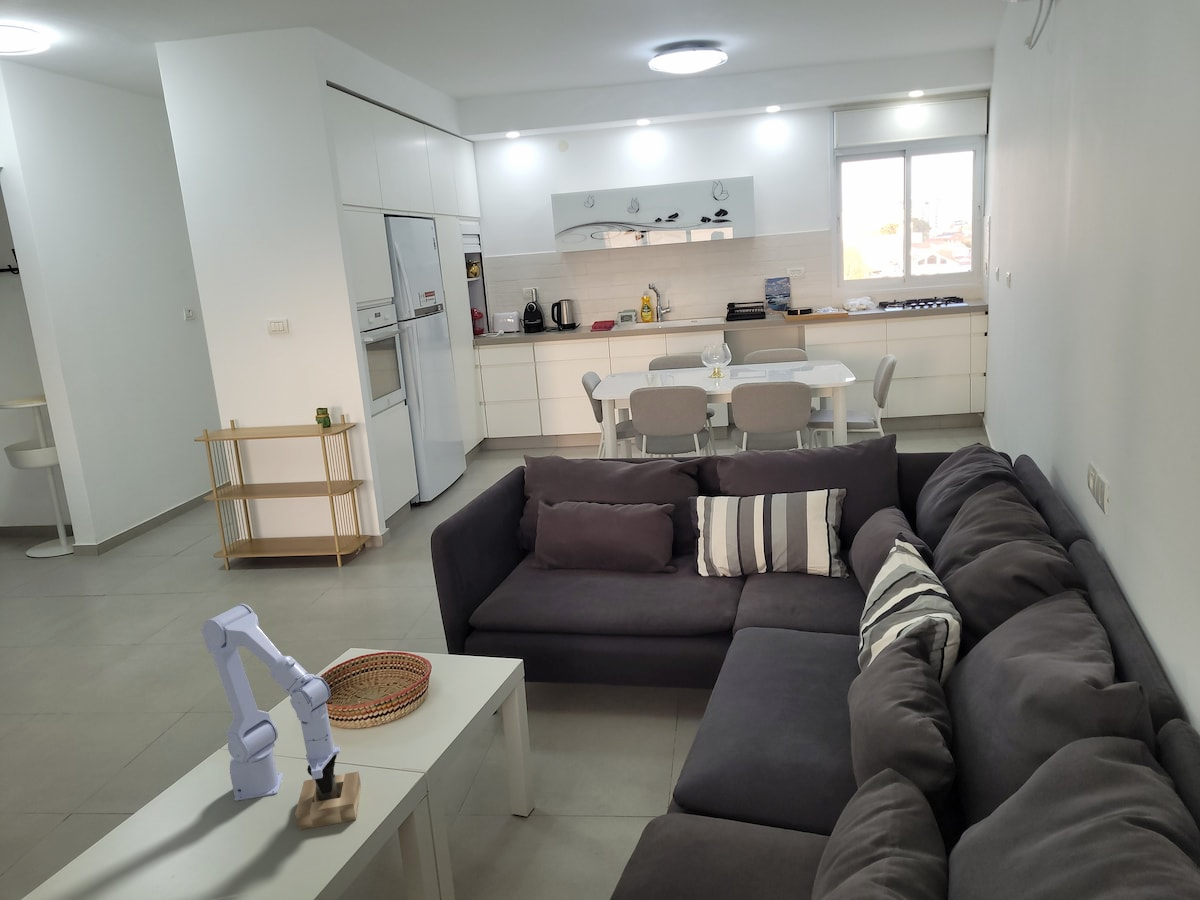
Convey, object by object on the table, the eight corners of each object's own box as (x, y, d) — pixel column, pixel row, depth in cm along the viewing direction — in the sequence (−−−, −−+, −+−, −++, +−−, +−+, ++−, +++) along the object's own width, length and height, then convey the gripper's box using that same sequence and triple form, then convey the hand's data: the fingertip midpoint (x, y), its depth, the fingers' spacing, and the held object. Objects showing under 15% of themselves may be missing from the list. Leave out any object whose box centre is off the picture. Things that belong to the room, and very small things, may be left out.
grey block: (319, 813, 194) (314, 784, 192) (322, 802, 197) (317, 774, 196) (338, 809, 194) (333, 781, 192) (340, 798, 198) (335, 771, 196)
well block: (298, 830, 189) (295, 813, 188) (307, 796, 201) (304, 780, 200) (356, 819, 191) (353, 803, 190) (361, 786, 203) (358, 771, 202)
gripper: (332, 748, 185) (342, 805, 188) (340, 713, 199) (349, 767, 202) (297, 754, 184) (308, 811, 187) (307, 718, 198) (317, 772, 201)
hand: (327, 789), depth 195 cm, fingers closed on grey block
